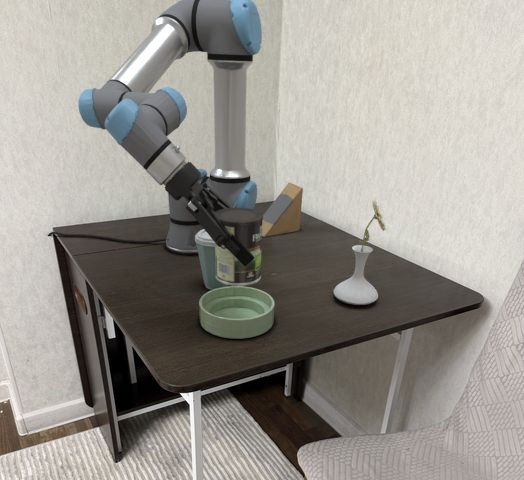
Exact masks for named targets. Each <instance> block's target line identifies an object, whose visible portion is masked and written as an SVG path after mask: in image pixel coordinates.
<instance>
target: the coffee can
mask: <svg viewBox="0 0 524 480" xmlns="http://www.w3.org/2000/svg"><path fill="white" fill-rule="evenodd" d="M215 213H216V215H217V216H218V218H219V219H220V221H221V222H222V224H223V225H224V226H225V228H226V229H227V231H228V232H229V234H230V235H232V234H233V235H234V236H235V237H236V238H237V239H238V240H239V242H240V243H241V244H242V245H243V246H244V247H245V248H246V249H247V250H248V251H249V252H250V253H251V254H252V255H253V256H254V257H255V258H254V259H253V260H252V261H251V262H250V263H249V264H248V265H246V266H244V265H243V264H242V263H241V262H240V261H239V260H238V259H237V258H236V257H235V256H234V255H233V254H232V253H231V252H230V251H229V250H228V249H227V248H226V247H225V246H224V245H222V246H221V247H218V246H217V244H216V243H215V258H216V279H217V280H218V281H219V282H221V283H223V284H226V285H228V286H244V287H248V286H252V285H255V284H256V283H259V281H260V280H261V279H262V250H263V249H262V248H263V236H262V220H263V215H264V213H262V211H259V210H257V209H255V208H254V209H249V208H225V209H221V210H218V211H216V212H215Z"/></svg>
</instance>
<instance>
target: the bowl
mask: <svg viewBox="0 0 524 480" xmlns="http://www.w3.org/2000/svg"><path fill="white" fill-rule="evenodd" d="M275 305H276V304H275V299H274V298H273V297H272V296H271V295H270V294H269V293H268V292H266V291H264V290H262V289H258V288H255V287H250V286H231V285H228V287H221V288H217V289H214V290H209V291H207V292H205V293H204V294H203V295H202V296H201V297H200V298H199V301H198V311H199V312H198V313H199V314H198V315H199V323H200V326H201V327H202V329H204V330H205V331H206V332H208V333H210V334H212V335H213V336H217V337H220V338H226V339H250V338H253V337H257V336H261V335H263V334H266V332H268V331H269V330H270V329H271V328H272V327H273V325H274V323H275V321H274V320H275Z"/></svg>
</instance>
